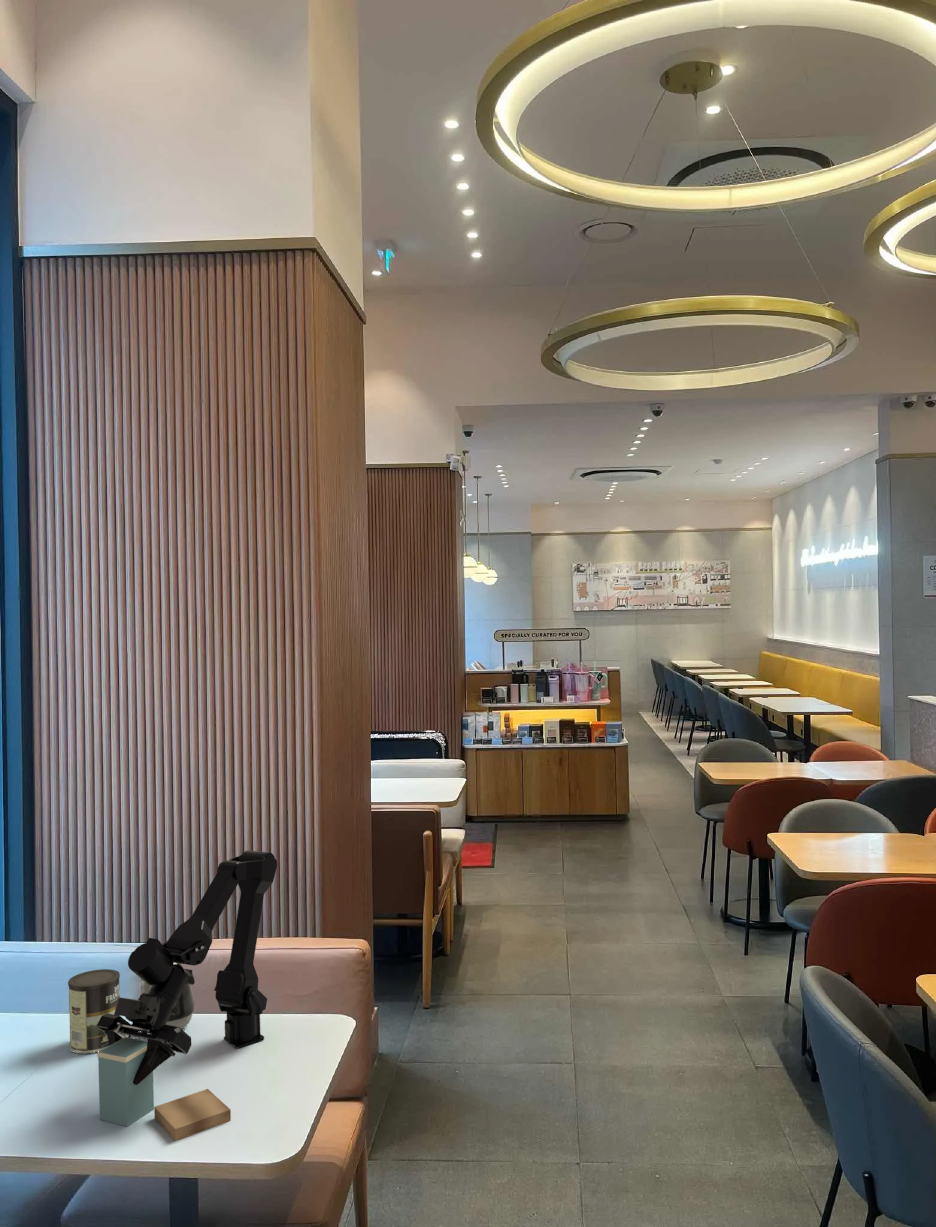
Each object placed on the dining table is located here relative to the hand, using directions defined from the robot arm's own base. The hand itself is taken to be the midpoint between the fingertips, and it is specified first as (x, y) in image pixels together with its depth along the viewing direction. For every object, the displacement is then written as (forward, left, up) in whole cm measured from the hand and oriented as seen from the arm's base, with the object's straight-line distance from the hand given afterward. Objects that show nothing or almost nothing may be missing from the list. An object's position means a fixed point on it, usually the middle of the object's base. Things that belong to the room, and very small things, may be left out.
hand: (120, 1081), depth 167 cm
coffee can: (-7, -36, -7) cm, 37 cm away
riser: (-9, +9, -7) cm, 15 cm away
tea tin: (-1, -1, -7) cm, 7 cm away
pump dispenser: (-22, -32, -7) cm, 39 cm away
